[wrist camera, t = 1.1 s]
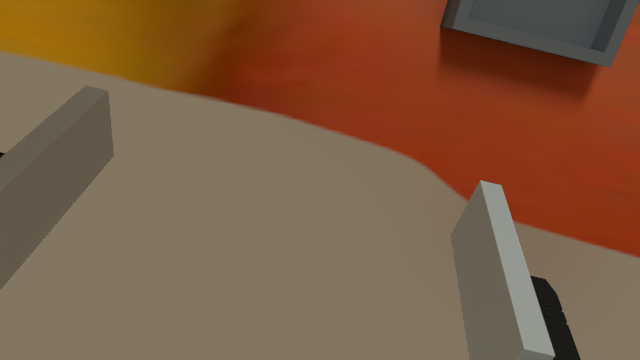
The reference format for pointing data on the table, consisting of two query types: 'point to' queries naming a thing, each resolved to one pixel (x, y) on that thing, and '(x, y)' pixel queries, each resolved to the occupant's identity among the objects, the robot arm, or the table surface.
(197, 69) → the table surface
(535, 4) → the tray
